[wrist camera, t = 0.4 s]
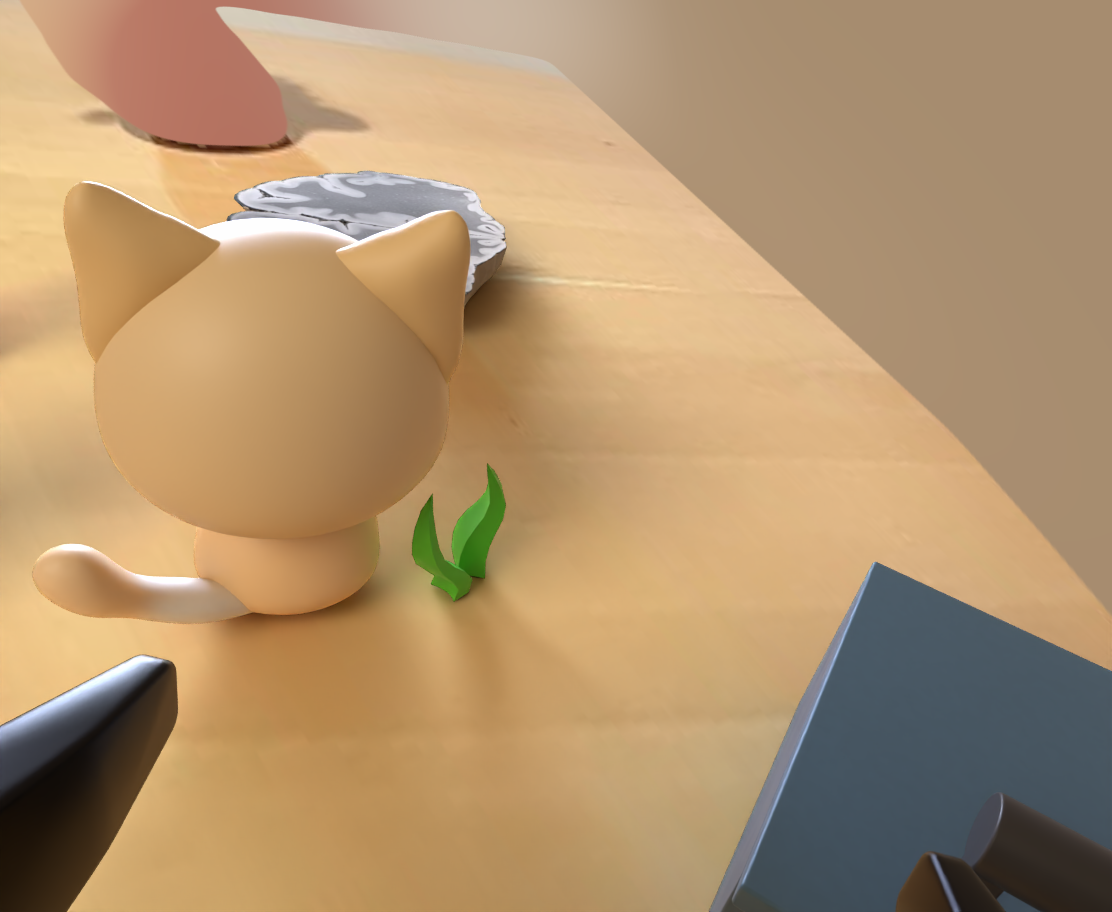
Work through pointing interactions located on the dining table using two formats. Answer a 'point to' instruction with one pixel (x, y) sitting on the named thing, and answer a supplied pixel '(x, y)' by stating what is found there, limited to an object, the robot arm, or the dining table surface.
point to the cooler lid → (942, 765)
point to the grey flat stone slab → (378, 210)
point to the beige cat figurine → (267, 403)
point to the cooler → (773, 782)
